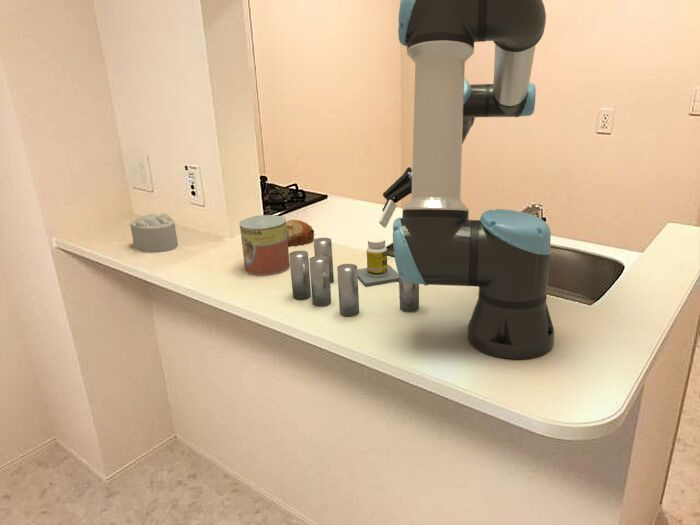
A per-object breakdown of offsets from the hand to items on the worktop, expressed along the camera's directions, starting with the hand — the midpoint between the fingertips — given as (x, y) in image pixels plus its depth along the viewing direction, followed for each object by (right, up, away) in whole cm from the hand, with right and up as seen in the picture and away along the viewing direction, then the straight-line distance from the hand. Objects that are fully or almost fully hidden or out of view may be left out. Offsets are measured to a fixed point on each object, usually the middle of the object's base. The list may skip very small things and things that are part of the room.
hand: (403, 229), depth 144 cm
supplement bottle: (-7, -11, -4) cm, 13 cm away
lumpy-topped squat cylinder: (-67, -3, +26) cm, 72 cm away
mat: (-7, -11, -4) cm, 14 cm away
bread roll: (-28, -2, +24) cm, 37 cm away
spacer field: (-13, -15, -14) cm, 24 cm away
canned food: (-34, -9, +5) cm, 35 cm away
